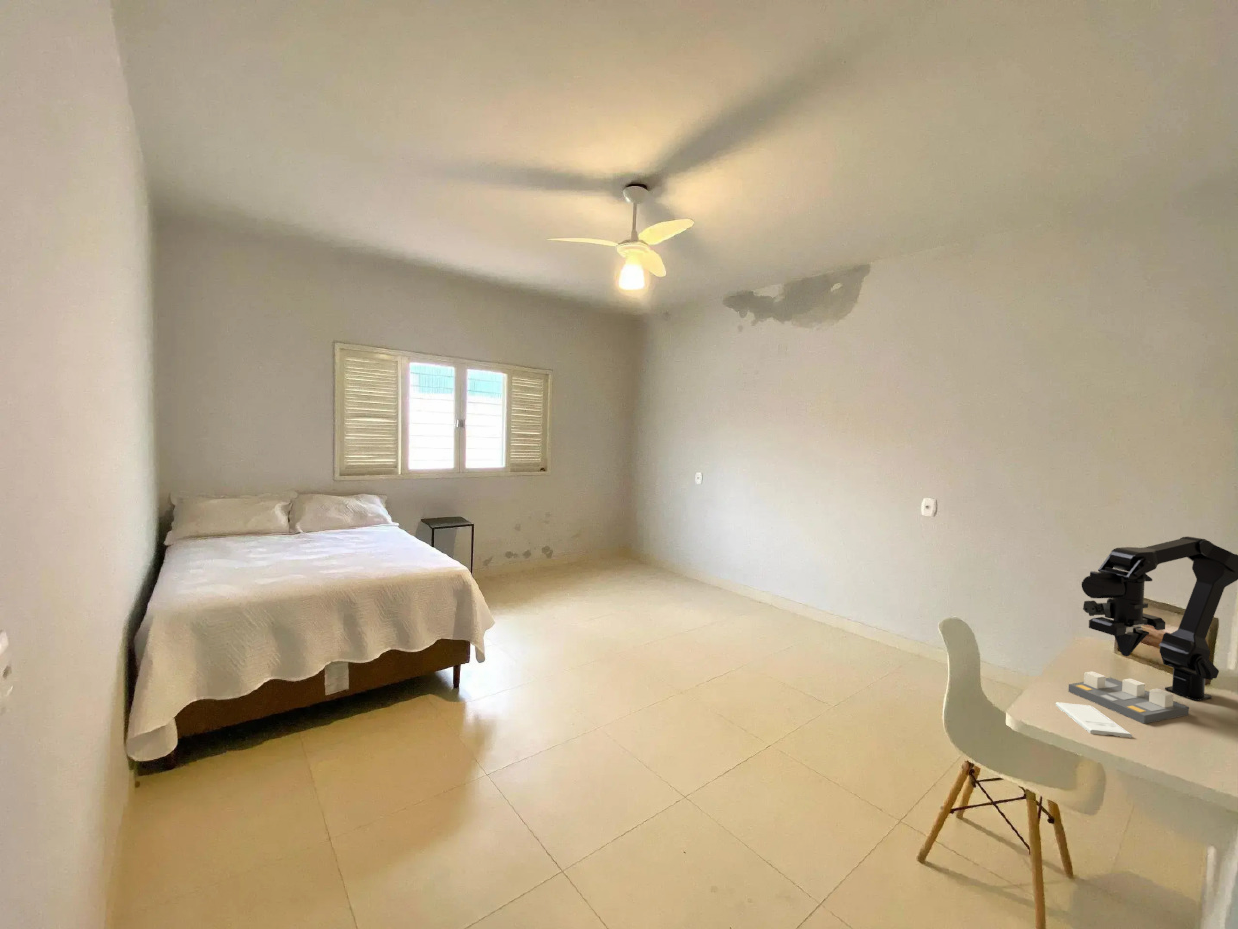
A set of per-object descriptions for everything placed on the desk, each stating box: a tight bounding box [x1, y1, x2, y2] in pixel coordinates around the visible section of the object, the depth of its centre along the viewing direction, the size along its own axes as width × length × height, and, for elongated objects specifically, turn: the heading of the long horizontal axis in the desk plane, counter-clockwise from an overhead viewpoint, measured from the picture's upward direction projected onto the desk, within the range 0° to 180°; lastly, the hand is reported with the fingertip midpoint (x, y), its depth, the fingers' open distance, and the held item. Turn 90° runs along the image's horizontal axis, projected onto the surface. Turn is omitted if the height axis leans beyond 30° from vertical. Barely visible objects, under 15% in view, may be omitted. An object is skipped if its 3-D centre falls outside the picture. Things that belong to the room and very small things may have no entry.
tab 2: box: [1122, 678, 1146, 697], centre depth 131 cm, size 3×3×3 cm
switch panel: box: [1068, 676, 1190, 724], centre depth 130 cm, size 16×16×2 cm
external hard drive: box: [1054, 701, 1133, 739], centre depth 121 cm, size 2×8×12 cm
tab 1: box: [1083, 670, 1107, 689], centre depth 135 cm, size 3×3×3 cm
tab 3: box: [1149, 688, 1175, 708], centre depth 125 cm, size 3×3×3 cm
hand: (1125, 655), depth 133 cm, fingers closed
